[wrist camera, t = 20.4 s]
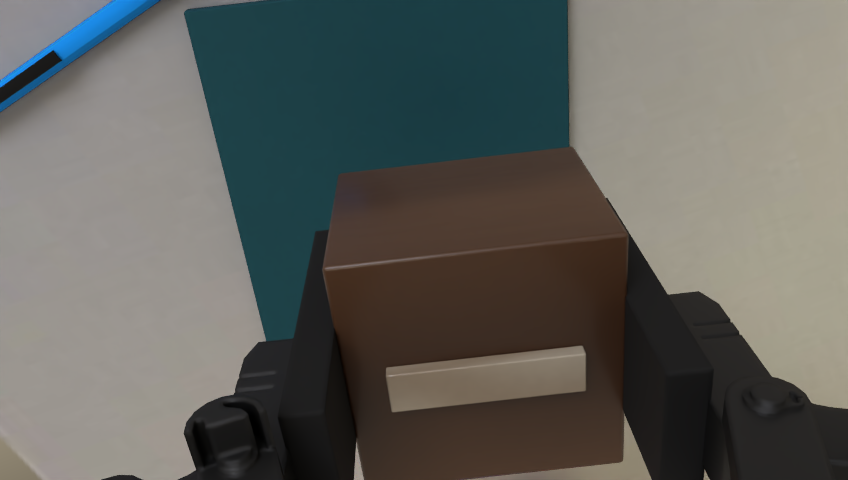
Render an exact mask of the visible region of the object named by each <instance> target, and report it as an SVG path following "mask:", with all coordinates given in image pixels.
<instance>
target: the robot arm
mask: <svg viewBox="0 0 848 480" xmlns="http://www.w3.org/2000/svg"><path fill="white" fill-rule="evenodd" d="M606 200H607V201H608V203H609V204H610V206H611V207H612V209H613V211H614V212H615V214H616V215H617V217H618V219H619V220H620V222H621V223H622V225H623V226H624V224H623V222H622V221H621V219H620V218H619V216H618V214H617V213H616V211H615V210H614V208H613V206H612V205H611V203H610V202H609V200H608V198H606ZM624 228H625V230H626V231H627V233H628V277H627V296H625V336H624V382H623V411H624V413H625V416H626V418H627V421H628V423H629V425H630V428H631V430H632V433H633V435H634V438H635V440H636V442H637V445H638V447H639V450H640V452H641V454H642V457H643V459H644V462H645V464H646V467H647V469H648V471H649V474H650V476H651V479H652V480H703V479H704V469H705V471H706V473H707V475H708V477H709V478H710V480H848V409H842V408H833V407H826V406H821V405H816V404H813V403H811V402H810V400H809V399H808V397H807V395H806V394H805V393H804V392H803V391H801V390H800V389H799V388H797V387H796V386H795V385H793V384H791V383H789V382H786V381H784V380H781V379H779V378H775V377H772V376H771V375H770V374H769V372H768V371H767V370H766V368H765V367H764V365H763V364H762V363H761V361H760V360H759V359H758V357H757V356H756V354H755V353H754V352H753V350H752V349H751V348H750V346H749V345H748V343H747V342H746V341H745V339H744V338H743V337H742V335H740V334H739V331H738V330H737V328H736V327H735V325H734V324H733V323H731V322H730V319H729V317H728V316H727V314H726V313H725V312H724V310H723V309H722V308H721V306H720V305H719V304H718V303H717V302H715V301H713V300H712V299H710V298H709V297H707V296H705V295H704V294H702V293H701V292H699V291H698V292H689V293H680V294H671V295H668V294H667V293H666V291H665V290H664V288H663V286H662V285H661V283H660V282H659V280H658V278H657V277H656V275H655V274H654V272H653V270H652V269H651V267H650V266H649V264H648V262H647V261H646V259H645V258H644V256H643V254H642V253H641V251H640V250H639V248H638V246H637V245H636V243H635V242H634V240H633V238H632V237H631V235H630V234H629V232H628V230H627V229H626V227H625V226H624ZM328 233H329V230H321V231H315V236H314V241H313V245H312V250H311V255H310V260H309V265H308V270H307V275H306V280H305V285H304V289H303V294H302V299H301V304H300V309H299V314H298V319H297V324H296V329H295V333H294V338H292V339H283V340H274V341H265V342H258V343H257V345H256V346H255V347H254V348H253V349H252V350H251V351H250V352H249V354H248V355H247V356H246V357H245V358H244V361H243V364H242V368H241V371H240V374H239V379H238V381H237V385H236V388H235V393H234V395H230V396H224V397H221V398H218V399H216V400H213V401H211V402H208V403H206V404H205V405H204V406H202V407H201V408H199V409H198V410H197V411H195V412H194V413H193V415H192V416H191V417H190V419H189V420H188V421H187V422H186V426H185V430H184V435H185V438H186V441H187V444H188V447H189V450H190V453H191V456H192V459H193V462H194V465H195V467H196V471H194V472H192V473H191V474H189V475H187V476H185V477H183V478H180V479H178V480H354V466H355V450H356V434H355V429H354V424H353V419H352V414H351V409H350V404H349V399H348V394H347V389H346V384H345V379H344V374H343V369H342V364H341V359H340V354H339V349H338V344H337V339H336V334H335V329H334V326H333V321H332V316H331V311H330V306H329V301H328V296H327V291H326V286H325V281H324V276H323V271H322V269H323V263H324V257H325V251H326V245H327V239H328ZM102 480H142V479H140V478H137V477H135V476H133V475H117V476H113V477H109V478H106V479H102Z"/></svg>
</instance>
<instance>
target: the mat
mask: <svg viewBox="0 0 848 480" xmlns="http://www.w3.org/2000/svg"><path fill="white" fill-rule="evenodd" d="M184 15H185V19H186V23H187V27H188V31H189V35H190V39H191V43H192V47H193V51H194V55H195V59H196V63H197V67H198V71H199V75H200V79H201V83H202V87H203V91H204V95H205V99H206V103H207V107H208V111H209V115H210V119H211V122H212V126H213V130H214V134H215V138H216V142H217V146H218V150H219V154H220V158H221V162H222V166H223V170H224V174H225V178H226V182H227V186H228V190H229V194H230V198H231V202H232V206H233V210H234V214H235V218H236V222H237V226H238V230H239V234H240V238H241V242H242V246H243V250H244V254H245V258H246V262H247V266H248V270H249V274H250V278H251V282H252V286H253V290H254V294H255V298H256V302H257V306H258V310H259V313H260V317H261V321H262V325H263V329H264V333H265V337H266V341H274V340H283V339H292V338H294V333H295V329H296V324H297V319H298V314H299V309H300V304H301V299H302V294H303V289H304V285H305V280H306V275H307V270H308V265H309V260H310V255H311V250H312V245H313V241H314V236H315V231H321V230H329V227H330V221H331V215H332V209H333V204H334V198H335V192H336V186H337V180H338V175H339V174H341V173H350V172H358V171H367V170H376V169H384V168H393V167H401V166H410V165H419V164H427V163H436V162H444V161H453V160H462V159H470V158H479V157H488V156H496V155H505V154H513V153H522V152H531V151H539V150H548V149H557V148H565V147H569V89H568V6H567V0H265V1H256V2H247V3H239V4H230V5H221V6H213V7H204V8H195V9H188V10H186V11H185V12H184Z"/></svg>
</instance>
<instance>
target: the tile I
mask: <svg viewBox="0 0 848 480" xmlns="http://www.w3.org/2000/svg"><path fill="white" fill-rule="evenodd" d="M322 271H323V276H324V281H325V286H326V291H327V296H328V301H329V306H330V311H331V316H332V321H333V326H334V329H335V334H336V339H337V344H338V349H339V354H340V359H341V364H342V369H343V374H344V379H345V384H346V389H347V394H348V399H349V404H350V409H351V414H352V419H353V424H354V429H355V434H356V442H357V447H358V452H359V457H360V462H361V467H362V472H363V477H364V480H464V479H473V478H482V477H491V476H500V475H509V474H519V473H528V472H537V471H546V470H555V469H564V468H573V467H583V466H592V465H601V464H610V463H619V462H622V461H623V449H624V411H623V382H624V336H625V296H627V277H628V233H627V231H626V230H625V228H624V226H623V225H622V223H621V222H620V220H619V219H618V217H617V215H616V214H615V212H614V211H613V209H612V207H611V206H610V204H609V203H608V201H607V200H606V198H605V196H604V195H603V193H602V192H601V190H600V189H599V187H598V185H597V184H596V182H595V181H594V179H593V178H592V176H591V174H590V173H589V171H588V170H587V168H586V166H585V165H584V163H583V162H582V160H581V159H580V157H579V155H578V154H577V152H576V151H575V149H574V148H573V147H565V148H557V149H548V150H539V151H531V152H522V153H513V154H505V155H496V156H488V157H479V158H470V159H462V160H453V161H444V162H436V163H427V164H419V165H410V166H401V167H393V168H384V169H376V170H367V171H358V172H350V173H341V174H339V175H338V180H337V186H336V192H335V198H334V204H333V209H332V215H331V221H330V227H329V233H328V239H327V245H326V251H325V257H324V263H323V269H322Z"/></svg>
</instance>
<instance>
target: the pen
mask: <svg viewBox="0 0 848 480" xmlns="http://www.w3.org/2000/svg"><path fill="white" fill-rule="evenodd" d="M159 1H160V0H113V1H111V2H110V3H109V4H107V5H106V6H104V7H103V8H102V9H100V10H99V11H97V12H96V13H95V14H93V15H92V16H90V17H89V18H87V19H86V20H85V21H83V22H82V23H80V24H79V25H78V26H76V27H75V28H73V29H72V30H71V31H69V32H68V33H66V34H65V35H64V36H62V37H61V38H59V39H58V40H57V41H55V42H54V43H52V44H51V45H50V46H48V47H47V48H45V49H44V50H42V51H41V52H40V53H38V54H37V55H35V56H34V57H33V58H31V59H30V60H28V61H27V62H26V63H24V64H23V65H21V66H20V67H19V68H17V69H16V70H14V71H13V72H12V73H10V74H9V75H7V76H6V77H4V78H3V79H2V80H0V112H1V111H3V110H4V109H5V108H7V107H8V106H10V105H11V104H13V103H14V102H15V101H17V100H18V99H20V98H21V97H23V96H24V95H26V94H27V93H28V92H30V91H31V90H33V89H34V88H36V87H37V86H38V85H40V84H41V83H43V82H44V81H46V80H47V79H48V78H50V77H51V76H53V75H54V74H56V73H57V72H58V71H60V70H61V69H63V68H64V67H66V66H67V65H68V64H70V63H71V62H73V61H74V60H76V59H77V58H79V57H80V56H81V55H83V54H84V53H86V52H87V51H89V50H90V49H91V48H93V47H94V46H96V45H97V44H99V43H100V42H101V41H103V40H104V39H106V38H107V37H109V36H110V35H111V34H113V33H114V32H116V31H117V30H119V29H120V28H121V27H123V26H124V25H126V24H127V23H129V22H130V21H132V20H133V19H134V18H136V17H137V16H139V15H140V14H142V13H143V12H144V11H146V10H147V9H149V8H150V7H152V6H153V5H154V4H156V3H157V2H159Z"/></svg>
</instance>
